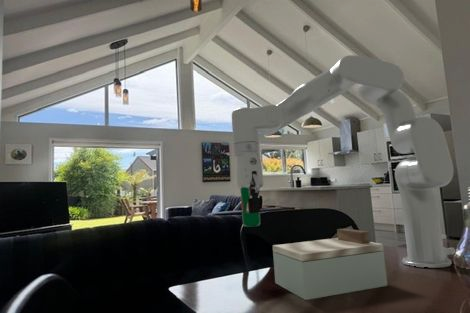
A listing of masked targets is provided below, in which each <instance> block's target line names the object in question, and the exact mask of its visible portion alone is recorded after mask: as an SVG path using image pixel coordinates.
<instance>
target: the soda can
mask: <svg viewBox="0 0 470 313" xmlns="http://www.w3.org/2000/svg"><path fill="white" fill-rule="evenodd" d="M250 187H254V185H252V186H250ZM240 189H241V191H240V202H241V216H242V217H241V218H242V225H243V226H244V227H245V228H246V227H258V226H260V225H261V211H260V212H259V213H249V207H248V199H249V194H248V188H245V187H244V186H241V188H239V190H240ZM251 193H252V190H251Z"/></svg>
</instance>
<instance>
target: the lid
mask: <svg viewBox="0 0 470 313" xmlns="http://www.w3.org/2000/svg"><path fill="white" fill-rule="evenodd" d="M336 233H337V237H334V238H325V239H316V240H307V241H301V242H300V241H299V242H293V243H290V242H289V243H283V244H273V245H272V252H277V253H279V254H282V255H285V256H288V257H291V258H294V259H297V260H299V261H309V260H317V259H324V258H331V257H339V256H346V255H353V254H361V253H368V252H375V251H384V244H383V243H380V242H379V243H378V242H373V241H370V233H369V231H366V230H365V231H364V230H358V229H350V228H337V229H336Z"/></svg>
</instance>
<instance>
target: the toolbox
mask: <svg viewBox="0 0 470 313" xmlns="http://www.w3.org/2000/svg"><path fill="white" fill-rule="evenodd" d="M272 256H273V268H274V269H273V270H274V271H273V272H274V283H275V284H276V285H278V286H280V287H282V288H284V289H285V290H287V291H289V292H291V294H294V295H295V296H297V297H299V298H301V299H302V300H304V301H307V300H309V301H310V300H314V299H320V298H324V297H330V296H336V295H342V294H347V293H354V292H358V291H365V290H371V289H376V288H381V287H382V288H383V287H387V286H388V278H387V270H386V260H385V259H386V258H385V251H384V250H383V251H375V252H368V253H361V254H353V255H346V256H339V257H331V258H324V259H317V260H309V261H299V260H297V259H294V258H291V257H288V256H285V255H282V254H279V253H277V252H274V251H272Z"/></svg>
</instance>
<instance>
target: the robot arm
mask: <svg viewBox="0 0 470 313" xmlns="http://www.w3.org/2000/svg"><path fill="white" fill-rule="evenodd" d="M404 81H405V74H404V71H403V70H402V68H400V66H398V65H396V64H395V63H393V62H389V61H387V60H386V61H385V60H381V59H377V58H371V57H369V56H368V57H367V56H361V55H355V54H354V55H349V54H348V55H345V56H343V57H341V58H340V59H339V60H338V61H337V62H336V63H335V64H334V65H333V66H332V67H330V68H329V69H327V70H325V71H323V72H322V73H320V74H318V75H317V76H315V77H313V78H311V79H310V80H308V81H306V82H305V83H303V84H301V85H300V86H298V87H297V88H296V89H295V90H294V91H293V92H292V93H291V94H290V95H288V96H287V97H286V98H285V99H284V100H282V101H281V102H279V103H277V104H265V105H262V106H255V107H248V106H247V107H246V106H244V107H238V108H236V109H234V110H232V113H231V126H232V127H231V128H232V141H233V156H234V157H236V179H237V180H236V181H237V182H236V183H237V188H238V189H239V191H240V192H241V189H240V188H241V186H244V187H245V188H248V194H249V199H248V207H249V213H259V212H260V213H261V203H260V189H261V188H262V187H263V186H264V176H263V166H262V162H261V156H260V153H261V152H260V142H259V141H260V140H259V134H260V135H262V136H271V135H274V134H275V133H277V132H279V131H280V130H282V129H284V128H286V127H287V126H289V125H290V124H292V123H294V122H296V121H297V120H299V119H300V118H302V117H305V116H306V115H308V114H310V113H312V112H313V111H315V110H317V109H319V107H321V106H323V105H325V104H327V103H328V102H330V101H332V100H333V99H335V98H337V97H339V96H340V95H342V94H344V93H345V92H347V91H348V90H350V89H351V88H352V87H354V86H355V85H358V87H357V92H358V95H359V97H360V98H361V99H362V100H363V101H365V102H367V103H369V104H372V105H373V106H375V107H376V108H377V109H379V110H380V112H381V113H382V116H383V118H384V121H385V125H386V128H387V133H388V136H389V139H390V140H389V141H390V144H391V146H392V148H393V150H394V151H396V153H399V154H402V155H404V154H405V155H406V154H412V153H414V154H415V155H414V156H412V157H408V158H405V159H403V160H401V161H400V162H399V163H398V164H397V165H396V167H395V171H394V179H395V182H396V185H397V188H398V189H397V190H398V193H399V196H400V203H401V208H402V209H401V211H402V218H403V226H404V236H405V243H406V251H407V252H406V253H407V256H404V257H402V263H403V264H404V265H406V266H409V265H410V267H414V266H416V267H417V268H424V267H428V268H427V269H429V268H430V269H438V268H439V269H440V268H447V267H450V266H452V265H451V264H453V263H452V260H451V259H450V258H448V256H449V255H450V256H451V255H454V253H455V254H456V252H455V251H456V250H457V249H455V248H454V247H446V246H444V242H443V236H442V230H441V229H442V227H441V221H440V220H441V219H440V212H439V205H438V201H437V197H436V194H435V192H434V191H433V189H435V188H438V189H439V188H442V187H446V186H447V185H448V184H450V182H451V181H452V179H453V177H454V164H453V160H452V157H451V153H450V149H449V146H448V142H447V139H446V136H445V135H446V134H445V132H444V130H443V128H442V126H441V125H440V124H439V122H438V121H437V120H435V119H433V118H432V117H429V116H418V117H417V115H416V113H415V109H414V106H413V104H412V101H411V100H410V99H409V98H408V96H407V95H406V94H405V93H404V92H402V91H400V88H401V87H402V86H403V84H404ZM252 185H254V187H250V186H252ZM251 190H252V193H251Z"/></svg>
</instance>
